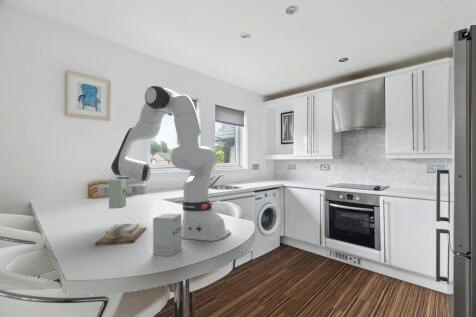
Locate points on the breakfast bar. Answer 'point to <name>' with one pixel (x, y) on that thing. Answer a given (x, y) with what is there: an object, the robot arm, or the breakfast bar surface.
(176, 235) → the supplement box
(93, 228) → the breakfast bar surface
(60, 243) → the breakfast bar surface
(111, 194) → the column block
